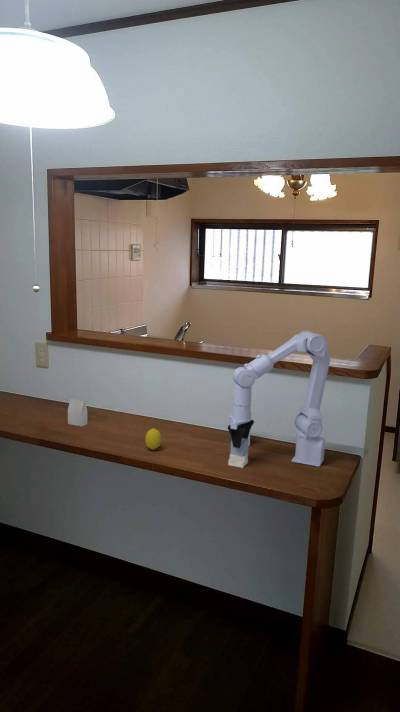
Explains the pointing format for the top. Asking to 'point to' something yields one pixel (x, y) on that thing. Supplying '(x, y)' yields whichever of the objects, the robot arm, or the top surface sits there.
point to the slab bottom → (237, 463)
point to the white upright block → (77, 412)
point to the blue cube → (242, 450)
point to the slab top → (238, 458)
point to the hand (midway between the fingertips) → (240, 444)
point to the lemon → (153, 438)
